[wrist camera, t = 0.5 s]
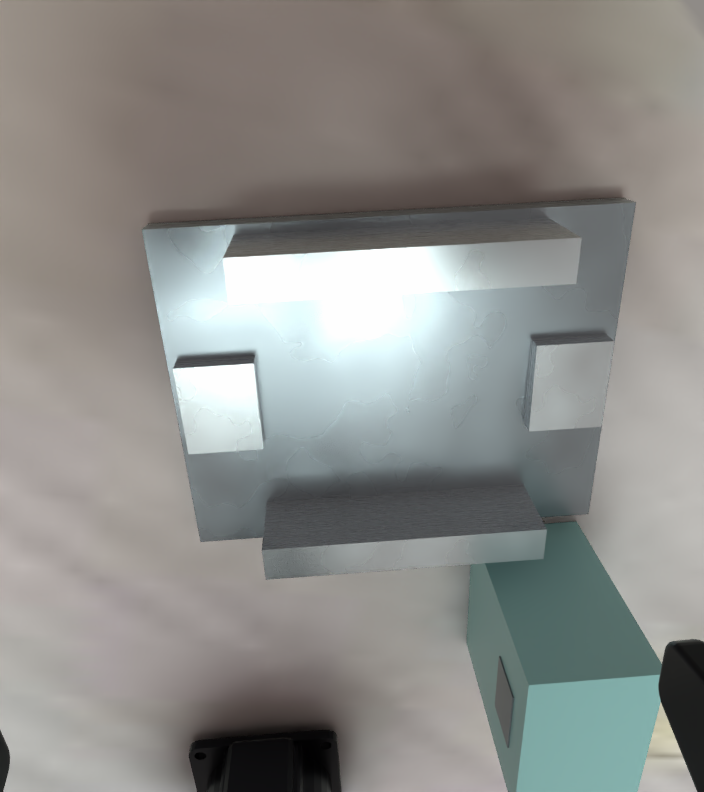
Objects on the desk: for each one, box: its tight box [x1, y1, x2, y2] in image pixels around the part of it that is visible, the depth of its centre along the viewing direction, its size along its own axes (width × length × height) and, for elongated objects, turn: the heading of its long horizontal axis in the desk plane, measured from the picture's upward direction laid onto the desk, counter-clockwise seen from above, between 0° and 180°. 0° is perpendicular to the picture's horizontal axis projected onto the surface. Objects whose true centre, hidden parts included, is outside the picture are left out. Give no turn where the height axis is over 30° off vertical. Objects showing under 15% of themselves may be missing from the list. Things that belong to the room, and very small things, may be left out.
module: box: [467, 522, 662, 792], centre depth 23 cm, size 6×4×7 cm
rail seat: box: [142, 198, 636, 580], centre depth 20 cm, size 11×14×3 cm
